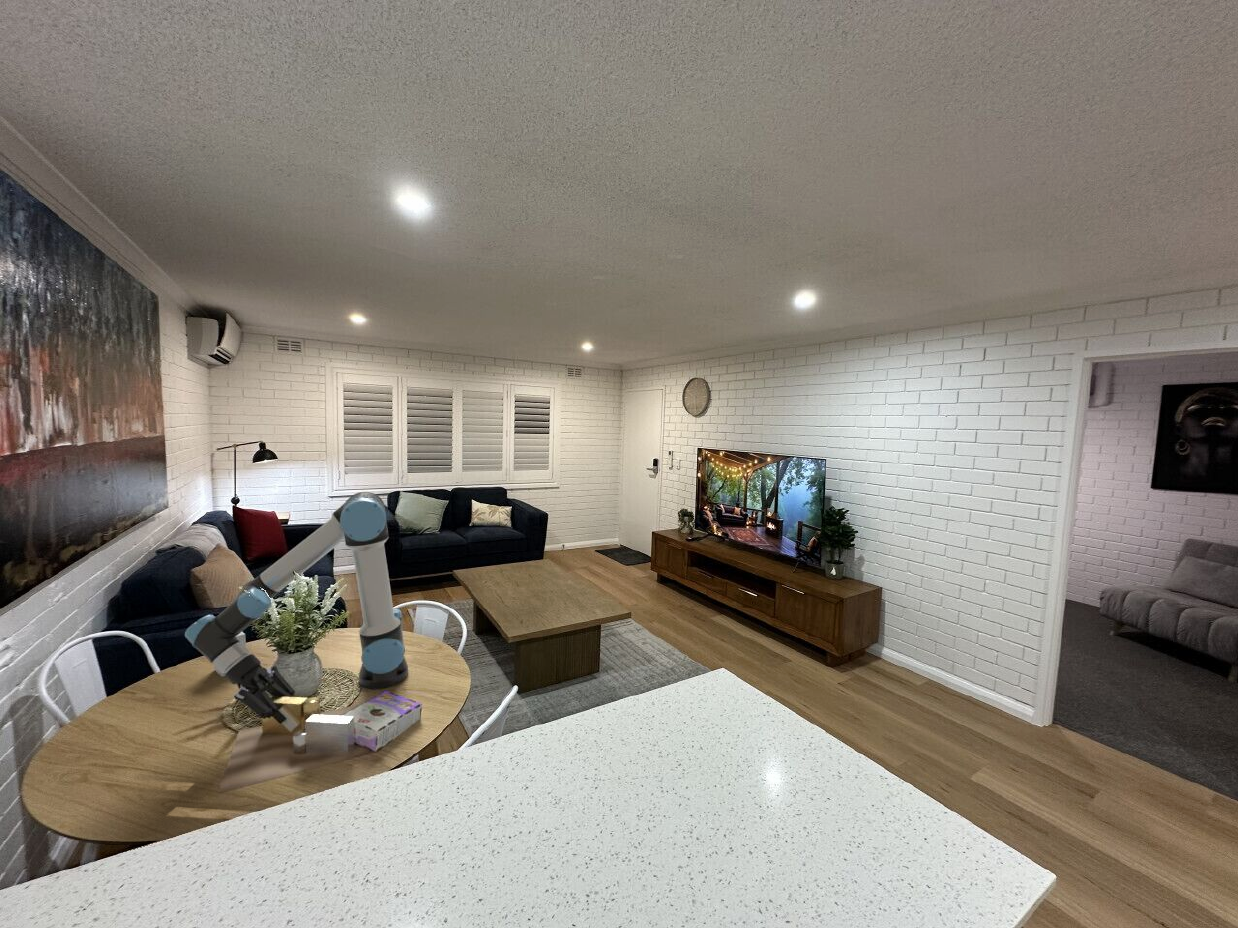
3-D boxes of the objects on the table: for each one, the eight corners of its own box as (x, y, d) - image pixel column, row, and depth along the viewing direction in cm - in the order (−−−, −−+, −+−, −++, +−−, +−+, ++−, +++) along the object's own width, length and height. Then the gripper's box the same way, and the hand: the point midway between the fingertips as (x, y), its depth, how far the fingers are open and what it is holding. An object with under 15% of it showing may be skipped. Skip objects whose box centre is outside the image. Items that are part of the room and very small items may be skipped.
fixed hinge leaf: (300, 743, 133) (299, 712, 132) (355, 746, 133) (354, 715, 132) (290, 754, 129) (288, 721, 128) (346, 757, 129) (346, 724, 128)
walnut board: (239, 734, 138) (239, 730, 138) (368, 705, 153) (368, 702, 153) (218, 797, 116) (218, 793, 116) (371, 756, 131) (371, 752, 131)
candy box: (384, 708, 151) (336, 736, 136) (386, 689, 151) (338, 715, 135) (420, 722, 146) (375, 753, 131) (422, 703, 146) (377, 731, 130)
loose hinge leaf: (271, 724, 141) (270, 694, 140) (323, 727, 140) (322, 697, 139) (261, 733, 137) (259, 702, 136) (314, 736, 136) (313, 705, 135)
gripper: (251, 657, 145) (309, 714, 146) (203, 688, 129) (269, 751, 130) (268, 641, 144) (326, 698, 146) (222, 670, 128) (288, 733, 130)
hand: (299, 723), depth 138 cm, fingers closed on loose hinge leaf, 3 cm apart
